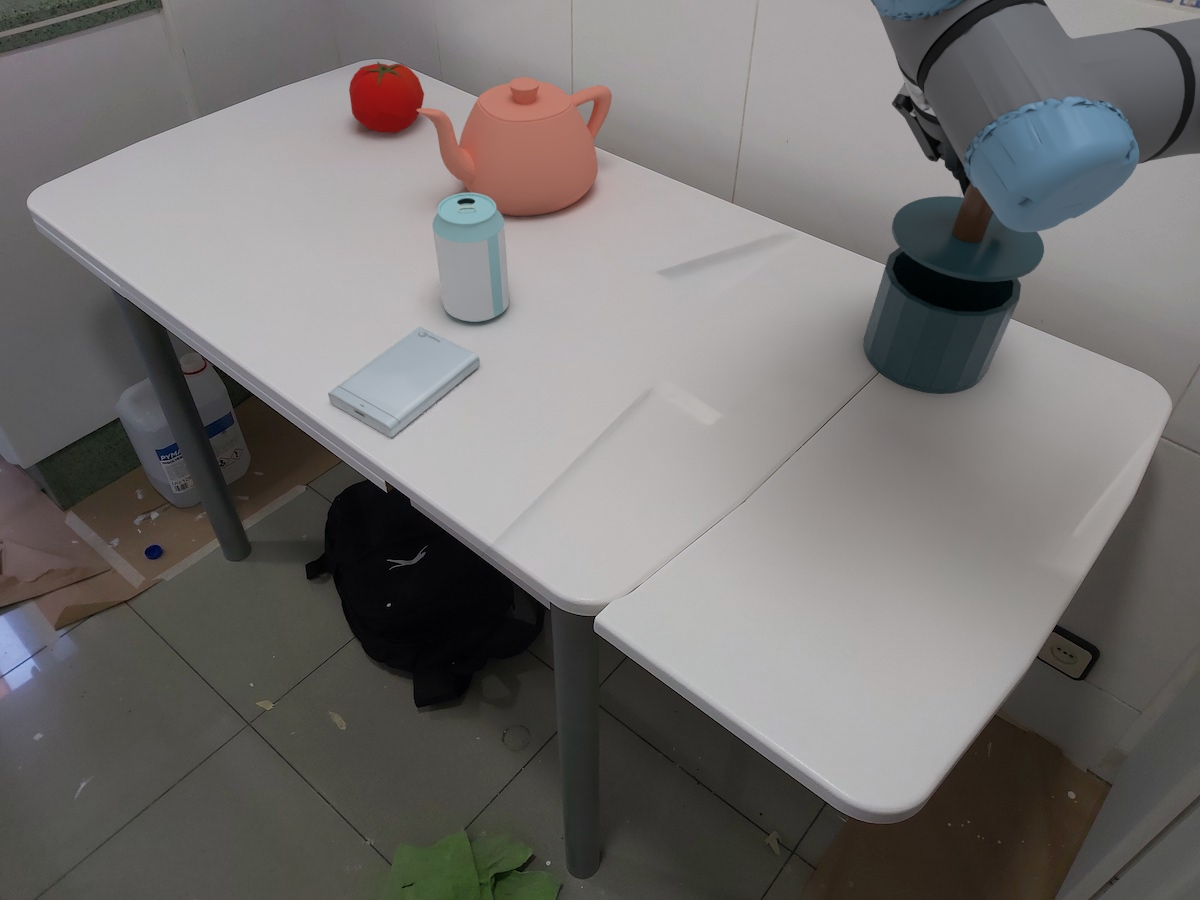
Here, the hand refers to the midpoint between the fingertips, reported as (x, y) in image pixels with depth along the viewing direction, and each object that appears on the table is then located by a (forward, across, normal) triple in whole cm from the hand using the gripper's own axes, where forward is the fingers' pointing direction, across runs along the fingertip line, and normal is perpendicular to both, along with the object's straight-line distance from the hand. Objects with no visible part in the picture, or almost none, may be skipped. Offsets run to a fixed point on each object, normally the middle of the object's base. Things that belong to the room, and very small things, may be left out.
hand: (995, 199), depth 81 cm
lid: (-1, 0, -4) cm, 5 cm away
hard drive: (-20, -33, -43) cm, 58 cm away
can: (-11, -38, -34) cm, 52 cm away
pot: (+9, 0, -14) cm, 17 cm away
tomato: (+2, -78, -21) cm, 81 cm away
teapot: (+3, -53, -20) cm, 57 cm away
